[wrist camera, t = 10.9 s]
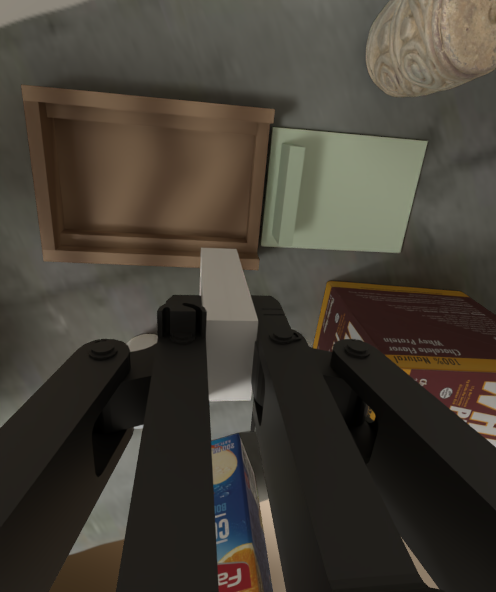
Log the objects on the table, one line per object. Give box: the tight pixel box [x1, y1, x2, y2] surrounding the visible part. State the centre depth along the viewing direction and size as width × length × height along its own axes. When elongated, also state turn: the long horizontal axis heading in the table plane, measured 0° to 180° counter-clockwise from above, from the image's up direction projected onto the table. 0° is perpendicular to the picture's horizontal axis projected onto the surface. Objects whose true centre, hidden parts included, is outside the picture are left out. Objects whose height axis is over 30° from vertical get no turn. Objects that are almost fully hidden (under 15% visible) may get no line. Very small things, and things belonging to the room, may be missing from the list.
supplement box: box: [313, 281, 496, 447], centre depth 37 cm, size 10×15×16 cm
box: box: [21, 85, 275, 270], centre depth 33 cm, size 18×13×4 cm
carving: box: [366, 0, 496, 97], centre depth 27 cm, size 6×8×12 cm
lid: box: [260, 127, 428, 253], centre depth 36 cm, size 14×10×4 cm
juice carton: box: [211, 433, 273, 592], centre depth 38 cm, size 12×8×24 cm, turn 105°
